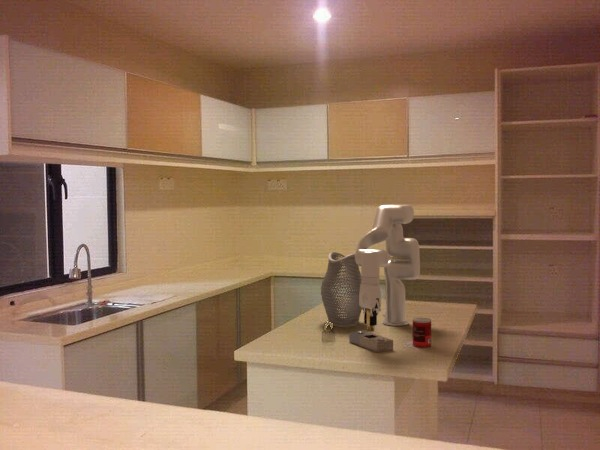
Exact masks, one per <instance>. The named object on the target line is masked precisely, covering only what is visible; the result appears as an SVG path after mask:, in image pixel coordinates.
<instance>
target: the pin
mask: <svg viewBox="0 0 600 450" xmlns="http://www.w3.org/2000/svg"><path fill="white" fill-rule="evenodd" d="M373 312H374V310H373ZM370 316H371V313H370V309H367V324H366V331H367V332H370V333H372V332H375V326H370Z"/></svg>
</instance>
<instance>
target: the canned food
mask: <svg viewBox="0 0 600 450" xmlns="http://www.w3.org/2000/svg"><path fill="white" fill-rule="evenodd" d="M412 344H413V346H414V347H416V348H423V349H424V348H431V346H432V319H431V318H428V317H414V318H413V319H412Z"/></svg>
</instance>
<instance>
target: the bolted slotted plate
mask: <svg viewBox="0 0 600 450" xmlns="http://www.w3.org/2000/svg"><path fill="white" fill-rule="evenodd" d="M349 343H351V344H354V345H356V346H358V347H362V348H365V349H367V350H369V351H372V352H375V353H383V352H389V350H390V351H394V340H393V339H390V338H388V337H384V336H382V335H378V334H375V333H372V332H370V331H367V330H358V331H353V332H349Z"/></svg>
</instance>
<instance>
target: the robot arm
mask: <svg viewBox="0 0 600 450" xmlns="http://www.w3.org/2000/svg"><path fill="white" fill-rule="evenodd" d="M414 217H415V211H414V208H413V206H412V205H411V204H382V205H379V206H378V207H377V208H376V212H375V215H374V220H373V224H372V226H371V227H372V228H371V230H370V231H368V232H366V234H364V235H363V236H362V238H360V240H359V241H358V243H357V246H356V249H355V253H354V254H355V262H356V264H357V265H358V266H359V267H361V271H360V273H361V285H360V291H359V305H360V306H361V308H362V311H363V316H364V317H363V320H364V321H363V323H364V325H367V309H370V313H371V316H370V326H374V327H375V326H377V324H378V323H377V322H378V316H379V313H380V312H381V311H382V309H381V307H382V295H381V286H380V268H383V274H384V281H385V312H384V313H383V314H382V317H383V318H384V319H383V320H382V324H384V325H385V326H392V327H401V326H403V327H404V326H407V325H408V324H409V320H407V319H406V288H405V287H406V286H405V284H404V283H403V282H402V280H410V281H411V280H417V279H418V278H420V275H421V265H420V264H421V260H420V259H421V257H420V254H421V253H420V245H419V241H418V240H417V239H416V238H413V237H404V229H403V226H402V225H406V224H410V223H411V222H413V220H414ZM384 241H385V249H378V248H377V249H375V248H374V249H373V248H370V247H371V246H373V245H376V244H380V243H382V242H384ZM390 258H396V259H390ZM397 258H398V259H397ZM399 258H403V259H399ZM404 258H405V259H404ZM406 258H408V259H406ZM373 310H374V312H373Z"/></svg>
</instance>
